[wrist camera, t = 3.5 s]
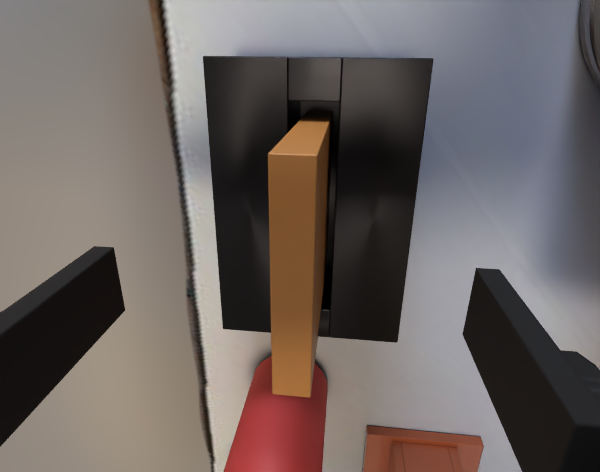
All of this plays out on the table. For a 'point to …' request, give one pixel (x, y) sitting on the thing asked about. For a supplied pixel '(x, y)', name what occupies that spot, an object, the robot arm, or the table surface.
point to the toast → (298, 248)
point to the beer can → (280, 427)
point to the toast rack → (420, 451)
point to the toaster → (343, 184)
